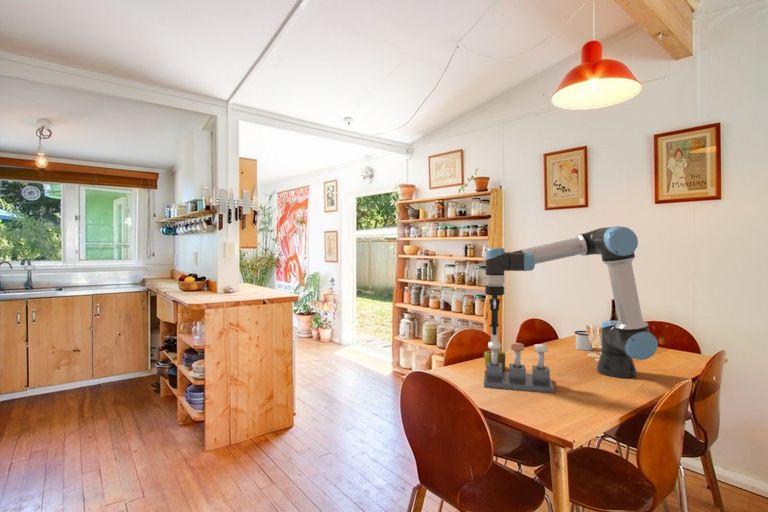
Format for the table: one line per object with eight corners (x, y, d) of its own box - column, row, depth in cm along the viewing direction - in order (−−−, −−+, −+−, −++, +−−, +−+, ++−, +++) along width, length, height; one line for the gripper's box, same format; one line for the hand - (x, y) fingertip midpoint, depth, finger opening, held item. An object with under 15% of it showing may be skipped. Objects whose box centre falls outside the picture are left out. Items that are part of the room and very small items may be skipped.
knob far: (500, 365, 169) (500, 342, 169) (500, 369, 164) (500, 344, 164) (488, 364, 171) (488, 341, 170) (488, 368, 166) (488, 344, 166)
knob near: (546, 369, 165) (546, 344, 164) (548, 372, 160) (548, 347, 159) (533, 368, 166) (533, 343, 166) (534, 371, 161) (534, 346, 161)
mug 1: (510, 369, 177) (503, 347, 180) (487, 375, 179) (480, 353, 182) (509, 367, 189) (502, 346, 191) (488, 372, 191) (481, 351, 193)
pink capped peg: (523, 367, 167) (523, 343, 167) (524, 371, 162) (524, 346, 162) (510, 366, 168) (510, 342, 168) (511, 370, 163) (511, 345, 163)
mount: (548, 379, 170) (548, 363, 169) (554, 393, 154) (554, 374, 154) (484, 374, 176) (485, 358, 176) (484, 387, 161) (484, 369, 161)
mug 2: (588, 352, 214) (588, 335, 214) (570, 348, 222) (571, 332, 222) (599, 348, 221) (599, 332, 221) (582, 345, 229) (582, 329, 229)
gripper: (485, 283, 174) (485, 338, 175) (485, 286, 161) (484, 345, 162) (503, 284, 172) (503, 339, 173) (504, 287, 160) (504, 346, 160)
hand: (494, 342), depth 167 cm, fingers closed
